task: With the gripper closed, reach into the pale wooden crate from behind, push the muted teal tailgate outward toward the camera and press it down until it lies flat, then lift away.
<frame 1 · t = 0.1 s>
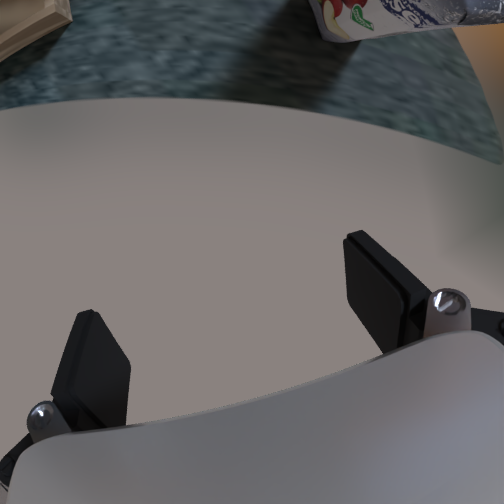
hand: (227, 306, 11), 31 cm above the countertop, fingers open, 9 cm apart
juice carton: (334, 10, 32), on the countertop
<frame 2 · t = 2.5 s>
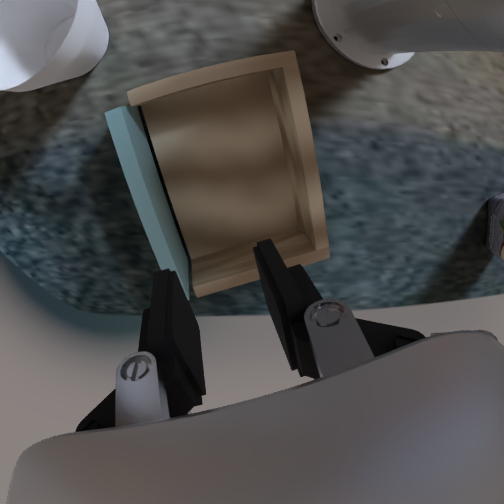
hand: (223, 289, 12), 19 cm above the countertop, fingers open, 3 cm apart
juice carton: (497, 216, 39), on the countertop
crate: (230, 164, 29), on the countertop
cup: (76, 45, 21), on the countertop
tailgate: (152, 200, 25), point 4 cm above the countertop, hinge at 0.0°
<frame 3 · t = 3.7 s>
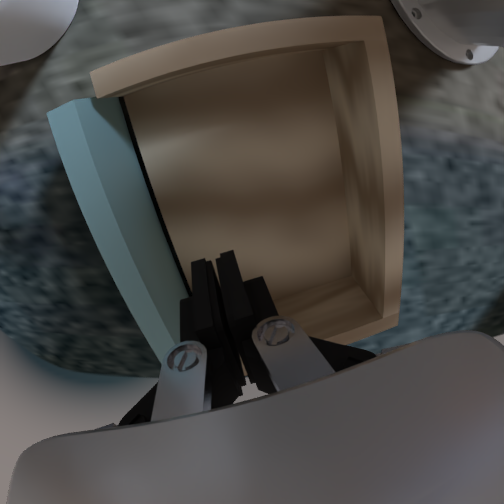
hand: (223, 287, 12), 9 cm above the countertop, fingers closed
crate: (262, 188, 20), on the countertop
cup: (34, 13, 11), on the countertop
tailgate: (142, 250, 16), point 4 cm above the countertop, hinge at 0.0°
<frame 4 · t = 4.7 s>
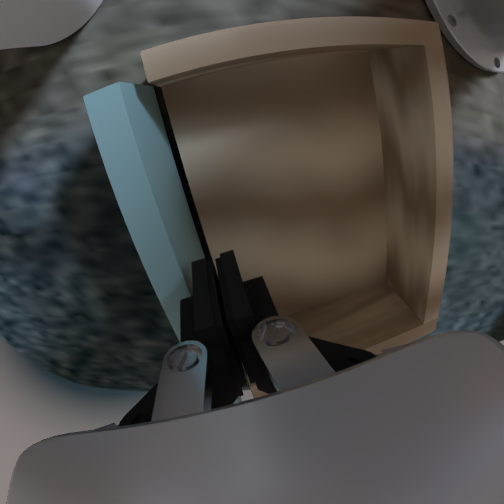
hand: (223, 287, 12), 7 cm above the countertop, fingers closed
crate: (304, 192, 19), on the countertop
tailgate: (181, 259, 15), point 4 cm above the countertop, hinge at 2.2°, touching gripper
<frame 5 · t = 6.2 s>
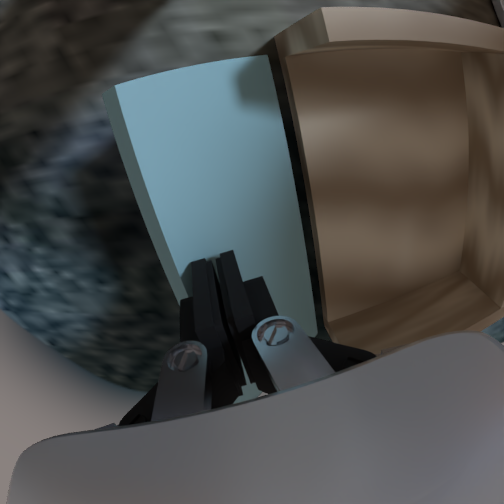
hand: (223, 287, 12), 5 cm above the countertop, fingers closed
crate: (402, 180, 17), on the countertop
tailgate: (243, 251, 14), point 3 cm above the countertop, hinge at 53.7°, touching gripper
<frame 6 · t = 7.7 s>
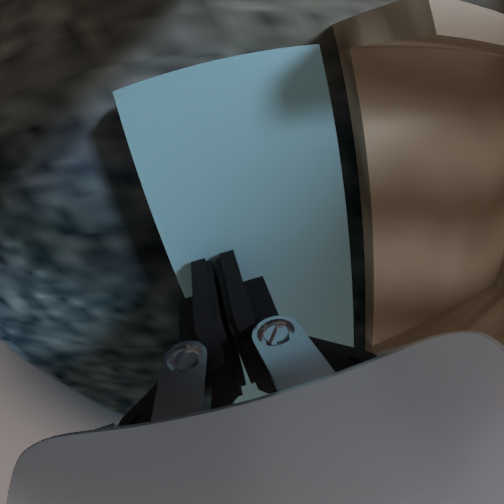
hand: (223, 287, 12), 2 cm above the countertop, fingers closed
crate: (453, 192, 15), on the countertop
tailgate: (266, 263, 13), point 1 cm above the countertop, hinge at 87.4°
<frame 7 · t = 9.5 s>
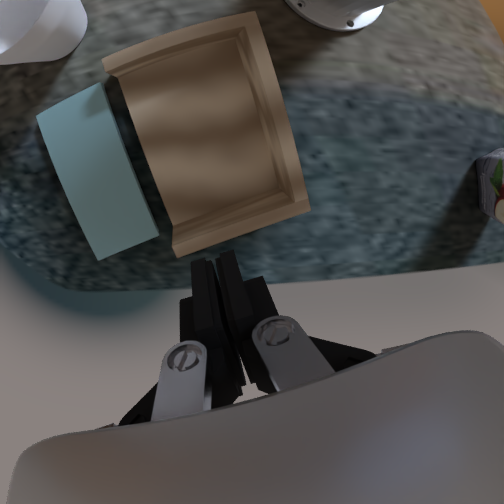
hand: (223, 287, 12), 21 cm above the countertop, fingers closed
juice carton: (488, 177, 39), on the countertop
crate: (206, 128, 29), on the countertop
cup: (58, 31, 21), on the countertop
tailgate: (96, 174, 27), point 1 cm above the countertop, hinge at 87.4°
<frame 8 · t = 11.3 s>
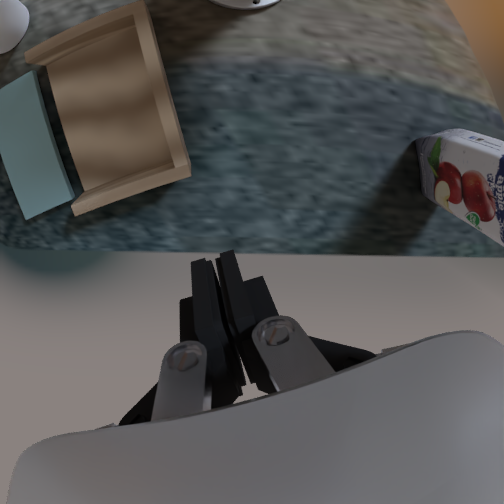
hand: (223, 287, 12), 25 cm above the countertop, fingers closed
juice carton: (434, 160, 40), on the countertop
crate: (114, 105, 29), on the countertop
cup: (8, 28, 21), on the countertop
tailgate: (26, 146, 28), point 1 cm above the countertop, hinge at 87.4°
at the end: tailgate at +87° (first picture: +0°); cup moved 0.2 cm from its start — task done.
